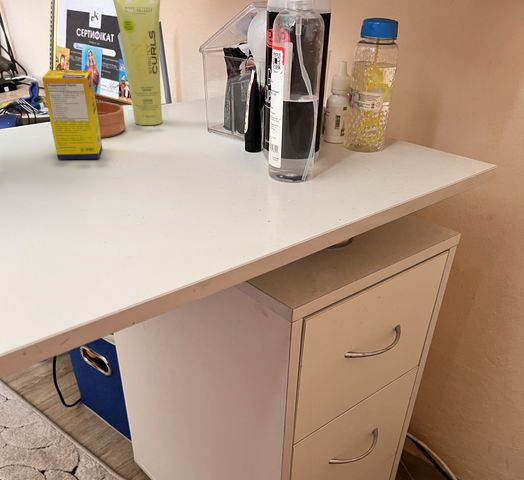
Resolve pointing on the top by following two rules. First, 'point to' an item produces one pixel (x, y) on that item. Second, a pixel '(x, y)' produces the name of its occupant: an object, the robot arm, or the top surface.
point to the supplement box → (73, 113)
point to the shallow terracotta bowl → (110, 118)
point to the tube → (142, 56)
